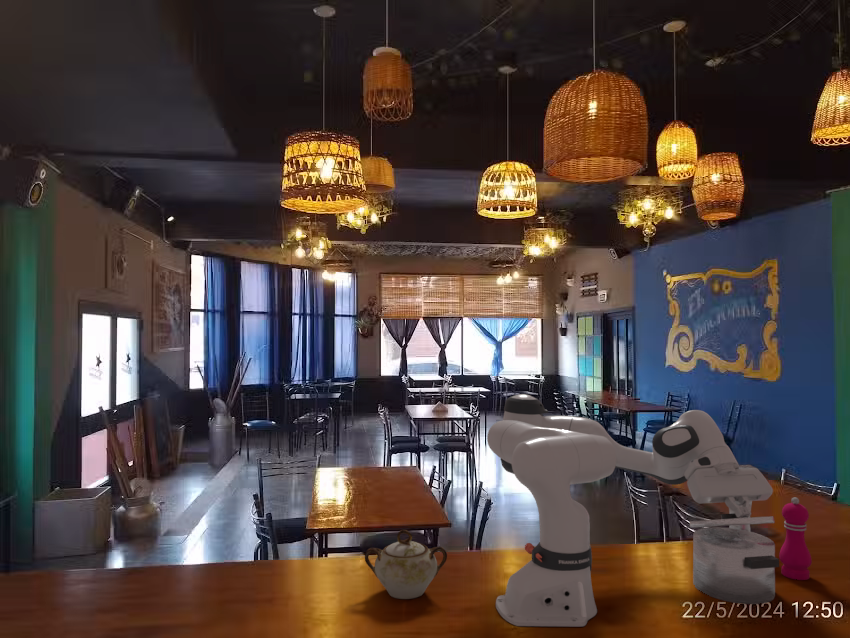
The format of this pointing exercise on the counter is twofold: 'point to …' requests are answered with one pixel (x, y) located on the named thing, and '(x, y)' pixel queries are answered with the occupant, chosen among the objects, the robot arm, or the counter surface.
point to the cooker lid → (731, 521)
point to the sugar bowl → (405, 566)
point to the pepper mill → (795, 542)
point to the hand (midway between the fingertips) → (744, 516)
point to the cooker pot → (734, 565)
